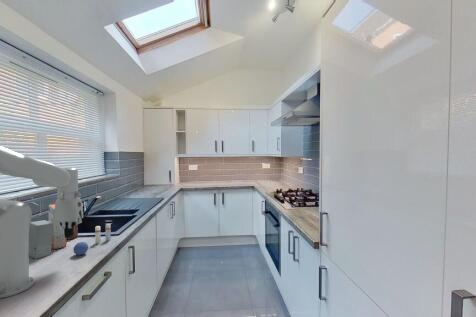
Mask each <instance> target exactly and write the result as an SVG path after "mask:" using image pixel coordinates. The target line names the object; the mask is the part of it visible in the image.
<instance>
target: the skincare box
mask: <svg viewBox="0 0 476 317" xmlns="http://www.w3.org/2000/svg"><path fill="white" fill-rule="evenodd" d="M52 228H53V223H51V222H49V220H46V219H44V220H37V221H31V222H30V227H29V258H30V257H31V258H33V259H35V260H36V259H40V258H43V257H48V256H50V255H51V254H52V247H51V242H52Z"/></svg>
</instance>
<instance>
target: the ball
mask: <svg viewBox="0 0 476 317" xmlns="http://www.w3.org/2000/svg"><path fill="white" fill-rule="evenodd" d="M88 249H89V245H88V243H87V242H85V241H80V242H77V243H76V244H74V247H73V253H74V254H75V256H83V255H84V254H86V253H87V251H89V250H88Z"/></svg>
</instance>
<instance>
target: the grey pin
mask: <svg viewBox="0 0 476 317" xmlns="http://www.w3.org/2000/svg"><path fill="white" fill-rule="evenodd" d="M111 228H112V227H111V223H107V224H105V242H110V241H111V231H112V230H111Z"/></svg>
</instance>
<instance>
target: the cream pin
mask: <svg viewBox="0 0 476 317" xmlns="http://www.w3.org/2000/svg"><path fill="white" fill-rule="evenodd" d="M94 229H95V230H94V232H95V235H94V237H95V238H94V244H95V245H99V244H101V231H102V230H101V226H100V225H96V226H95V228H94Z"/></svg>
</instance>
